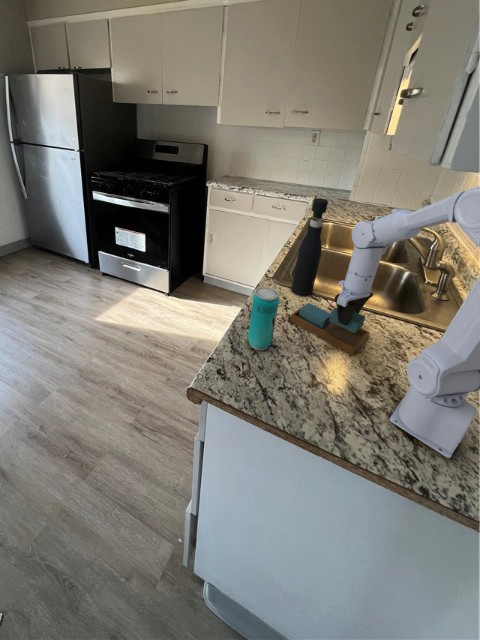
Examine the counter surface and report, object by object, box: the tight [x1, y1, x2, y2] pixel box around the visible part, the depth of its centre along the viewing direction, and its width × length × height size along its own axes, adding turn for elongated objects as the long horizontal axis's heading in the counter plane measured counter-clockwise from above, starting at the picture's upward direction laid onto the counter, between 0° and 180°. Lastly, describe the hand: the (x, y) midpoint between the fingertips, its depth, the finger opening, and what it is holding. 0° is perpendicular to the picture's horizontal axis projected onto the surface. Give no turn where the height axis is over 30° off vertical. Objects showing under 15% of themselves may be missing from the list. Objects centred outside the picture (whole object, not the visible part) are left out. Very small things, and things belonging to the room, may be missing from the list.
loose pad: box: [329, 307, 366, 334], centre depth 78 cm, size 6×4×3 cm
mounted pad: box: [299, 302, 331, 329], centre depth 85 cm, size 7×4×3 cm, turn 41°
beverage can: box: [247, 286, 280, 351], centre depth 74 cm, size 6×6×15 cm
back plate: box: [289, 304, 371, 356], centre depth 83 cm, size 17×9×2 cm, turn 41°
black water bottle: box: [291, 197, 329, 297], centre depth 94 cm, size 6×6×30 cm
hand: (347, 319), depth 78 cm, fingers closed on loose pad, 4 cm apart
